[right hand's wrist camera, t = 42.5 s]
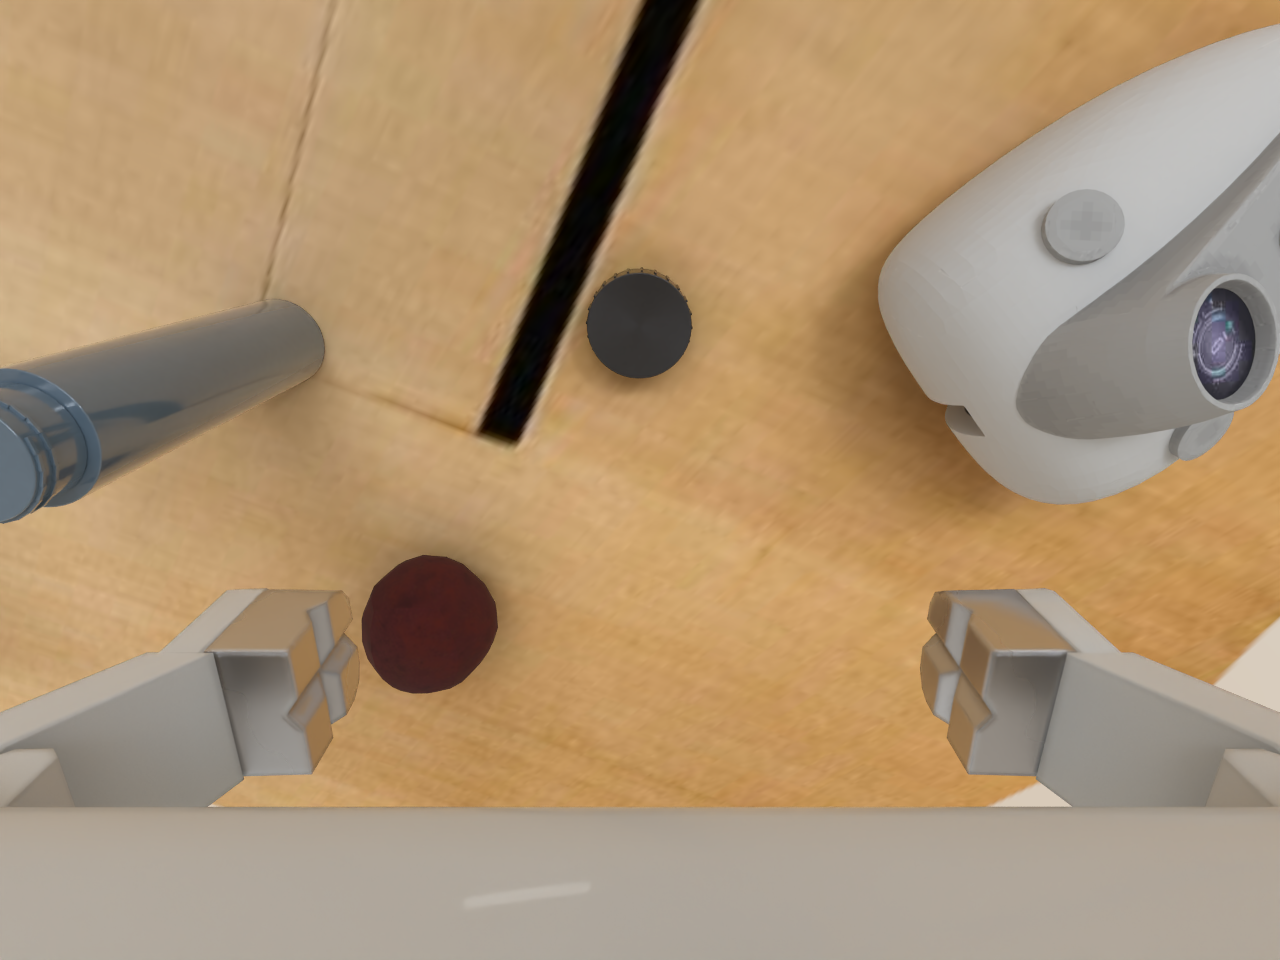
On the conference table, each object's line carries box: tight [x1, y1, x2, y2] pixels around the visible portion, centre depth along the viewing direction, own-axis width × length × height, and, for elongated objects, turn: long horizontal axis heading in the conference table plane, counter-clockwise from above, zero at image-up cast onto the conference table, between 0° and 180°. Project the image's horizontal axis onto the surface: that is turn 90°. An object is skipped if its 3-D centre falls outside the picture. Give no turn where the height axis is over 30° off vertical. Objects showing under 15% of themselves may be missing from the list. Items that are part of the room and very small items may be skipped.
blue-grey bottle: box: [0, 299, 324, 524], centre depth 30 cm, size 5×5×20 cm
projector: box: [878, 24, 1280, 504], centre depth 31 cm, size 22×23×15 cm
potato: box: [362, 555, 498, 693], centre depth 41 cm, size 7×8×7 cm
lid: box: [586, 267, 692, 378], centre depth 38 cm, size 5×5×2 cm
